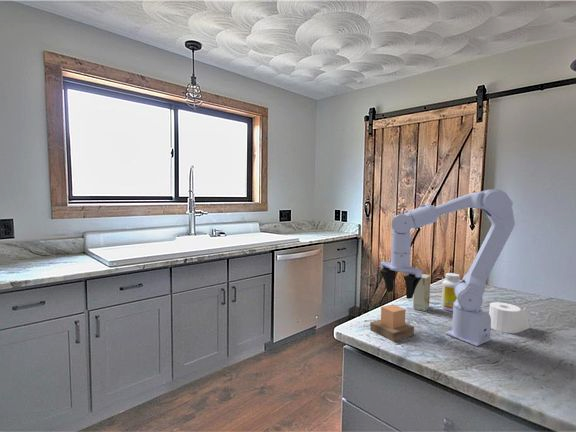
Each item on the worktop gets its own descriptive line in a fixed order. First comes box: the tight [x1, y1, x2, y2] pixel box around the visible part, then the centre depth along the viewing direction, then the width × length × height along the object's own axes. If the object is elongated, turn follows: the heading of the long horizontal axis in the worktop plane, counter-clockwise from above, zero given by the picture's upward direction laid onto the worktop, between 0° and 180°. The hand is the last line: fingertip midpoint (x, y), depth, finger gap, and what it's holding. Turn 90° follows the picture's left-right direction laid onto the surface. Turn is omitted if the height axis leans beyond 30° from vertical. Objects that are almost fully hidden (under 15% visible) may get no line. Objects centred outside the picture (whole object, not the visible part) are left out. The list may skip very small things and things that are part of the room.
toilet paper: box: [488, 301, 530, 334], centre depth 104 cm, size 8×11×7 cm
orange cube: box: [380, 304, 406, 328], centre depth 99 cm, size 5×5×5 cm
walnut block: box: [369, 318, 415, 342], centre depth 99 cm, size 9×9×3 cm
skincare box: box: [412, 273, 431, 312], centre depth 120 cm, size 6×4×12 cm
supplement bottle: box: [440, 272, 461, 312], centre depth 119 cm, size 7×7×13 cm
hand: (399, 294), depth 103 cm, fingers open, 7 cm apart
